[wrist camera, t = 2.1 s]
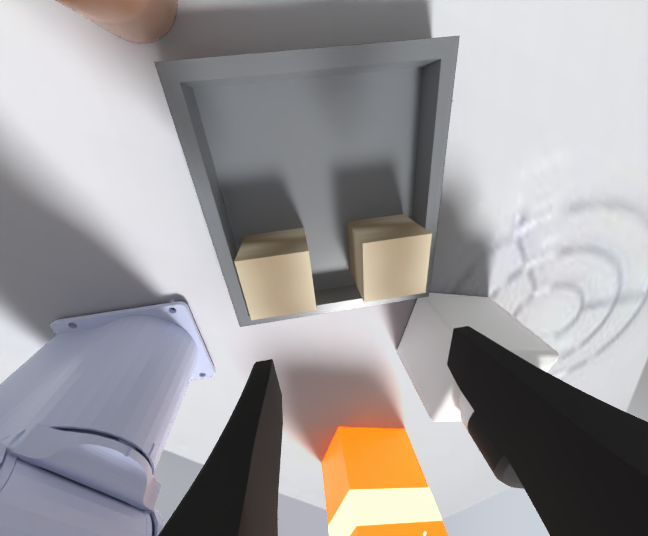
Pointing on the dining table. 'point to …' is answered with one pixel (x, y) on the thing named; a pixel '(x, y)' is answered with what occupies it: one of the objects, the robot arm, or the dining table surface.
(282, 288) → the birch block
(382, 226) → the birch block
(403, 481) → the orange juice
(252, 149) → the tray
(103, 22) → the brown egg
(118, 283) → the dining table surface
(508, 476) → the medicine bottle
